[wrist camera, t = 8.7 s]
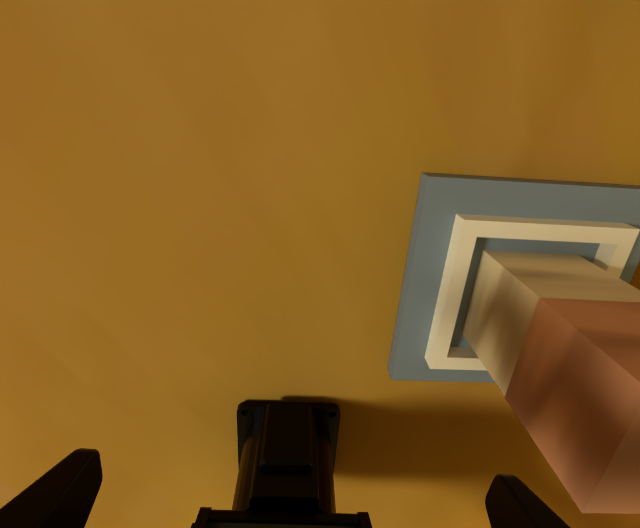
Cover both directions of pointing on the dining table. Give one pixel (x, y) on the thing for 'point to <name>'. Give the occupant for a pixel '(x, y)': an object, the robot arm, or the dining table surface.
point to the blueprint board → (501, 235)
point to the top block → (584, 398)
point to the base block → (527, 300)
